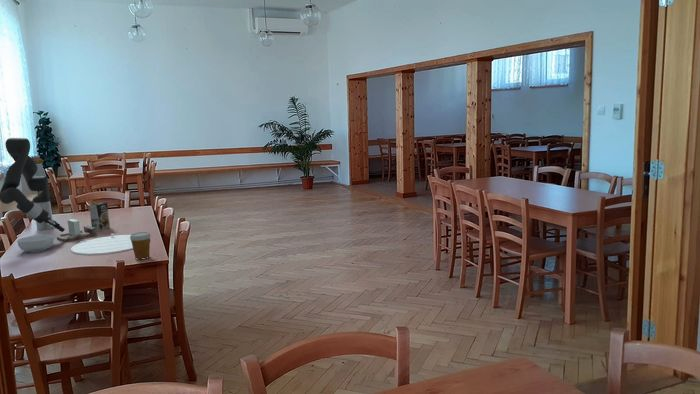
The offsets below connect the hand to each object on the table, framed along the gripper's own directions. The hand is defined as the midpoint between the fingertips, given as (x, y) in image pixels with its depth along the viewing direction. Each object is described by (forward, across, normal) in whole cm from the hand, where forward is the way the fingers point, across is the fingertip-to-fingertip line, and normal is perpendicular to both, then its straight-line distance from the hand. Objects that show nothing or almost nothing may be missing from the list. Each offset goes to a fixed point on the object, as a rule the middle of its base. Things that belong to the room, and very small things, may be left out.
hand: (63, 230), depth 310 cm
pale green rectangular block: (+7, 0, -2) cm, 7 cm away
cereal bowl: (-9, -13, +17) cm, 23 cm away
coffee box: (+22, +10, -14) cm, 27 cm away
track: (+8, 0, 0) cm, 8 cm away
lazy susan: (+12, -36, -4) cm, 38 cm away
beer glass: (+10, -76, -2) cm, 77 cm away
